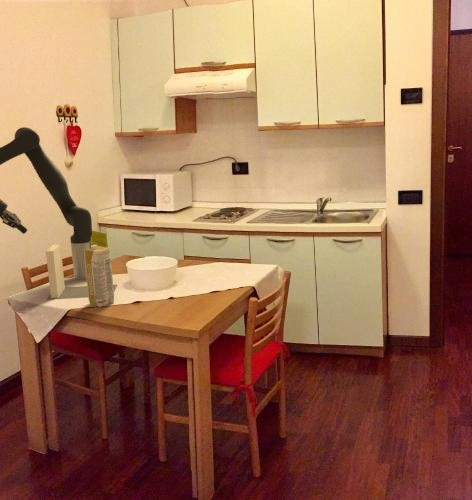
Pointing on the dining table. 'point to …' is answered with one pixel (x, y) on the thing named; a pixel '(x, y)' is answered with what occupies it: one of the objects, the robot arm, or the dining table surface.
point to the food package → (99, 239)
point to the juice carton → (99, 275)
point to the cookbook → (55, 270)
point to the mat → (74, 292)
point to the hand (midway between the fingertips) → (25, 231)
